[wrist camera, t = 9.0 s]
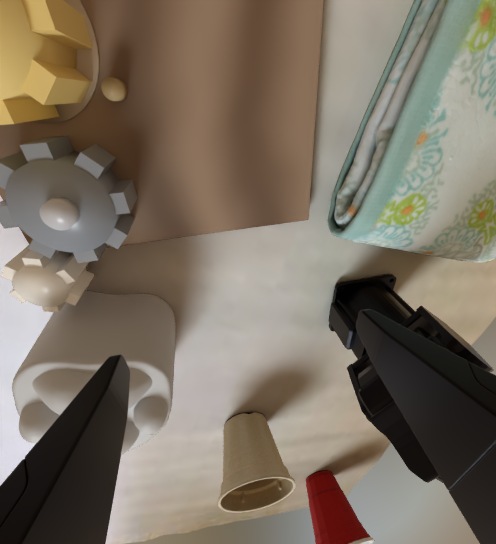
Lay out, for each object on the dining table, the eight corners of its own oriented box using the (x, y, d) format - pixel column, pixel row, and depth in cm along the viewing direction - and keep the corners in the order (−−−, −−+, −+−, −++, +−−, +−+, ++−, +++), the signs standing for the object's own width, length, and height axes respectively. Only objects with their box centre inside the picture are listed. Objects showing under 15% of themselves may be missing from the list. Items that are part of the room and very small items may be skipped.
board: (320, -94, 13) (346, -130, 11) (302, 214, 22) (315, 227, 20) (-150, -98, 11) (-234, -146, 9) (44, 248, 20) (26, 267, 18)
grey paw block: (179, 295, 24) (175, 377, 17) (171, 383, 31) (166, 469, 24) (47, 288, 22) (-22, 383, 15) (69, 387, 28) (29, 485, 21)
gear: (118, 131, 16) (100, 139, 13) (149, 234, 19) (141, 261, 16) (-8, 141, 15) (-59, 154, 12) (50, 247, 19) (22, 278, 15)
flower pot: (233, 399, 35) (244, 476, 28) (288, 409, 39) (311, 479, 32) (200, 436, 39) (203, 513, 31) (254, 442, 43) (268, 511, 35)
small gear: (64, 227, 18) (40, 250, 16) (107, 274, 21) (92, 300, 18) (13, 251, 19) (-17, 276, 17) (61, 293, 22) (40, 320, 19)
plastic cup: (336, 482, 60) (365, 558, 50) (290, 491, 58) (311, 572, 48) (350, 460, 54) (386, 540, 44) (300, 469, 52) (327, 556, 42)
